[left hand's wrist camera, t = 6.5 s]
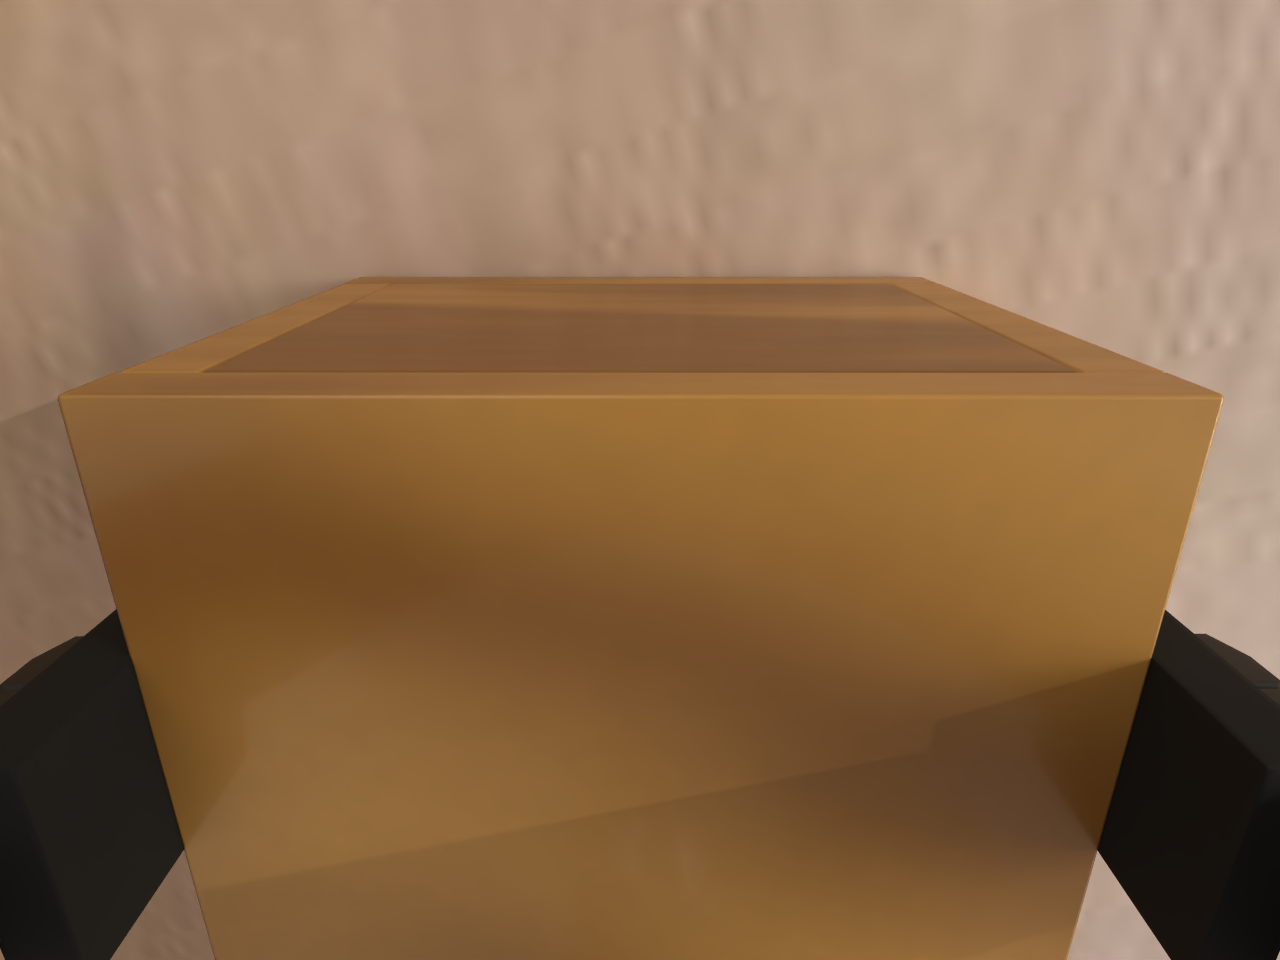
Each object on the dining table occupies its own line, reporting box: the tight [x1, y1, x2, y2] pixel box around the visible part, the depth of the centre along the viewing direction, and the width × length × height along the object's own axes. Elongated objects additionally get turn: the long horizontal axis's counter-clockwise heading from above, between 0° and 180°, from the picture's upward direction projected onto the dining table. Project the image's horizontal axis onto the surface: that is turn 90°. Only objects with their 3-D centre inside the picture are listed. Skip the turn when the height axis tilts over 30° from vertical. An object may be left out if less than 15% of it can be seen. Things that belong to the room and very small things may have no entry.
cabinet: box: [58, 277, 1224, 960], centre depth 15 cm, size 22×11×8 cm, turn 0°
